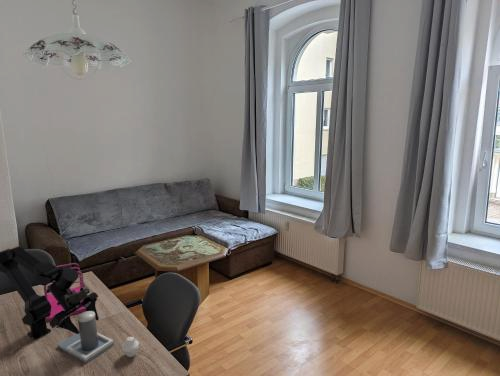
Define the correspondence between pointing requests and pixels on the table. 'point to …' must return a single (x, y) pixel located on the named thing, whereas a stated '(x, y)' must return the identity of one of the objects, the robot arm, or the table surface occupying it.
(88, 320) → the grey cup with lid
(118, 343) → the table surface
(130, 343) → the muffin
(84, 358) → the charging board
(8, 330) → the table surface
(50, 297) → the file sorter
